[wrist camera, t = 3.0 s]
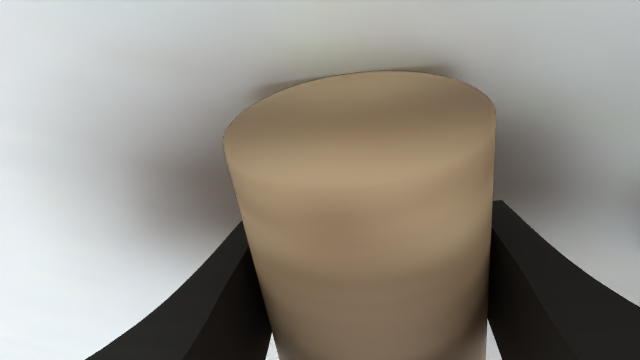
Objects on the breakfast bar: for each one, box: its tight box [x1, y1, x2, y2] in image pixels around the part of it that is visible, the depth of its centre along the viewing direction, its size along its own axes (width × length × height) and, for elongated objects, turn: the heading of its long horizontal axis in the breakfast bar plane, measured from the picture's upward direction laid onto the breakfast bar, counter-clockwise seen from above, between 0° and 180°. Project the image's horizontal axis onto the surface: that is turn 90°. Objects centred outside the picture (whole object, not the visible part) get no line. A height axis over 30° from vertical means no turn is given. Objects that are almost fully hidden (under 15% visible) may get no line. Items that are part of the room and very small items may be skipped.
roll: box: [223, 71, 496, 360], centre depth 12 cm, size 8×5×5 cm, turn 8°
